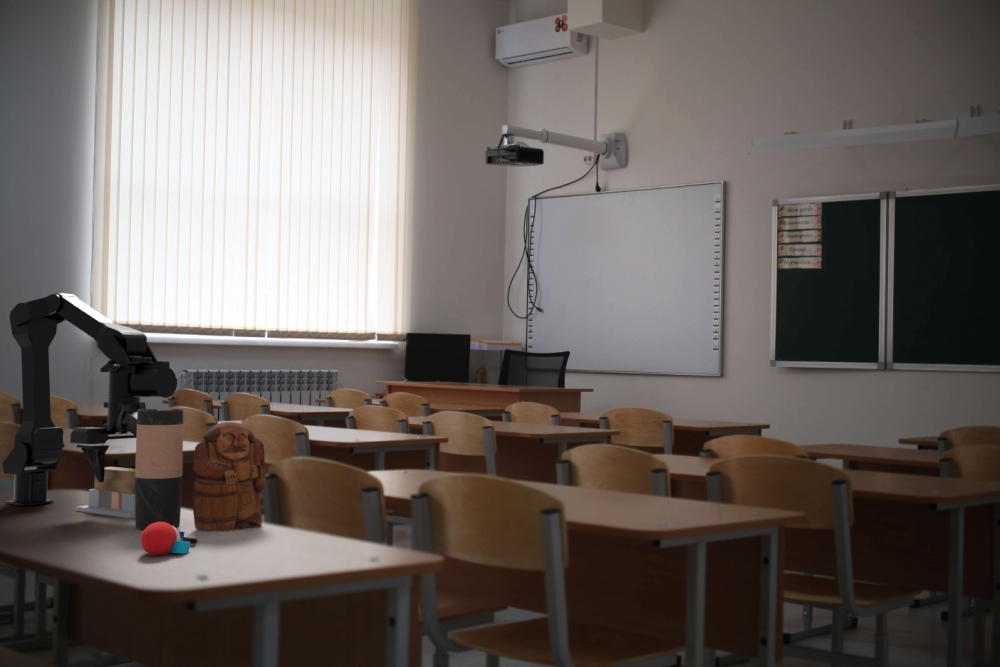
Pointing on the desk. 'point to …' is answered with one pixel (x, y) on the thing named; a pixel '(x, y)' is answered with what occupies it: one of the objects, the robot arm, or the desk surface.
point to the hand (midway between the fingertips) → (122, 480)
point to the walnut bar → (117, 480)
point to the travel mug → (158, 467)
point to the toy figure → (164, 540)
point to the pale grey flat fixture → (110, 503)
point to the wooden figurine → (228, 478)
